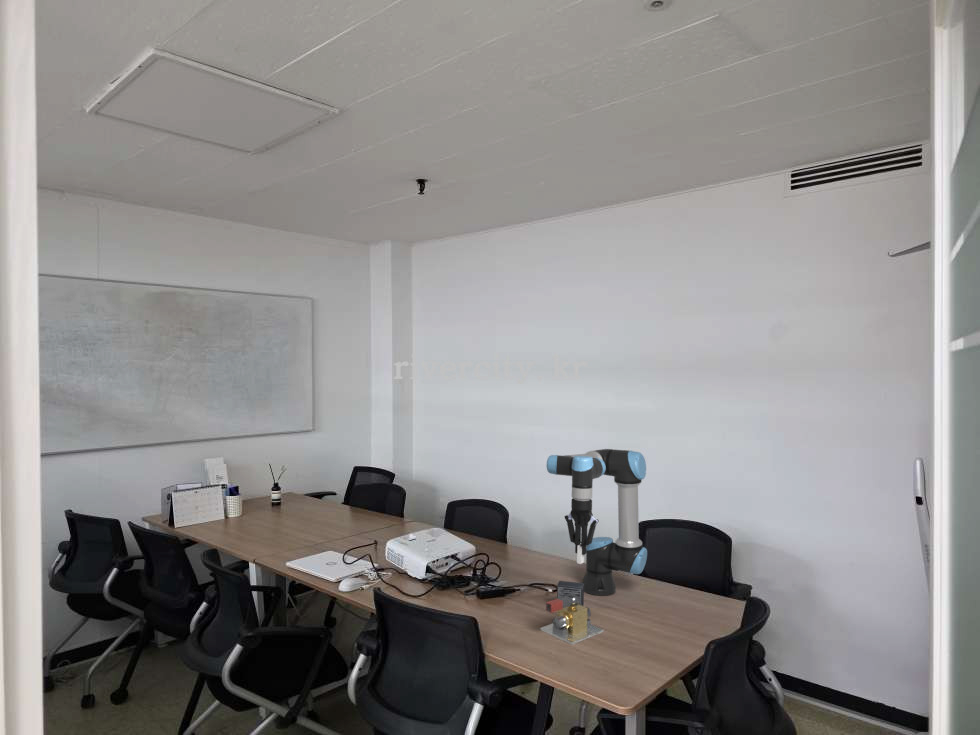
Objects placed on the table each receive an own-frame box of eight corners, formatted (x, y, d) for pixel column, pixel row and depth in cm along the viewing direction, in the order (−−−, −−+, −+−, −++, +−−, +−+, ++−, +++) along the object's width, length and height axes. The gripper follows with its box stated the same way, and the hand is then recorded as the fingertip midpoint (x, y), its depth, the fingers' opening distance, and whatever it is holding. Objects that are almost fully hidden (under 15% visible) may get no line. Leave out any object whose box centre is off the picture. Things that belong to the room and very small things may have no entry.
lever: (571, 600, 241) (572, 592, 241) (580, 604, 237) (580, 596, 237) (544, 610, 231) (544, 601, 231) (552, 613, 227) (553, 605, 227)
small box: (584, 607, 261) (584, 582, 261) (582, 613, 255) (582, 587, 255) (558, 604, 264) (559, 579, 264) (556, 610, 258) (556, 584, 258)
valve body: (571, 618, 249) (572, 593, 249) (603, 631, 237) (604, 605, 237) (540, 630, 238) (540, 603, 238) (571, 644, 225) (572, 617, 225)
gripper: (602, 499, 229) (601, 563, 229) (570, 494, 236) (569, 557, 236) (593, 502, 223) (592, 568, 223) (561, 497, 230) (559, 561, 230)
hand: (580, 562), depth 230 cm, fingers closed
